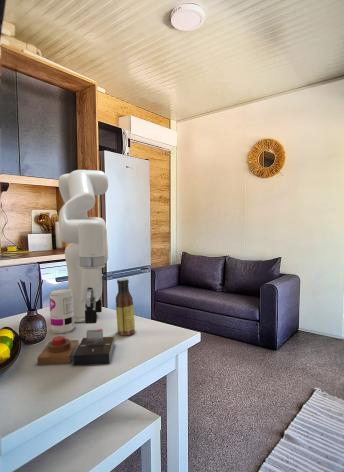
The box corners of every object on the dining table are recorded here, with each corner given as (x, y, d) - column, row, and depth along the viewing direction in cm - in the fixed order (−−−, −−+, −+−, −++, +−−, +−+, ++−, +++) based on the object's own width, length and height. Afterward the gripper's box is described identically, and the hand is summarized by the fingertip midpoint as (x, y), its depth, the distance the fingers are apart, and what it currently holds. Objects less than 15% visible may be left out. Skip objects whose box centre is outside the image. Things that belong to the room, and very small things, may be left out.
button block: (50, 347, 99) (50, 335, 99) (78, 346, 100) (78, 334, 100) (37, 365, 88) (36, 351, 87) (69, 363, 88) (69, 350, 88)
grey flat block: (87, 346, 93) (86, 331, 92) (88, 344, 94) (87, 329, 94) (102, 345, 93) (101, 330, 93) (103, 343, 94) (102, 328, 94)
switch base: (83, 346, 100) (82, 337, 100) (114, 345, 101) (114, 335, 100) (73, 365, 87) (73, 355, 87) (109, 363, 88) (109, 353, 87)
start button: (54, 341, 95) (54, 336, 95) (66, 341, 96) (66, 335, 95) (51, 346, 92) (51, 340, 92) (63, 345, 92) (63, 340, 92)
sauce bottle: (136, 330, 114) (135, 277, 113) (132, 336, 108) (131, 280, 106) (119, 329, 115) (117, 277, 113) (114, 336, 109) (112, 280, 107)
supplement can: (52, 335, 110) (50, 294, 109) (49, 328, 117) (48, 290, 116) (75, 331, 114) (74, 291, 113) (72, 325, 121) (70, 287, 120)
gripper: (85, 257, 100) (87, 308, 102) (72, 267, 83) (74, 328, 85) (108, 257, 101) (109, 308, 102) (100, 266, 84) (102, 327, 85)
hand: (93, 317), depth 93 cm, fingers open, 9 cm apart
